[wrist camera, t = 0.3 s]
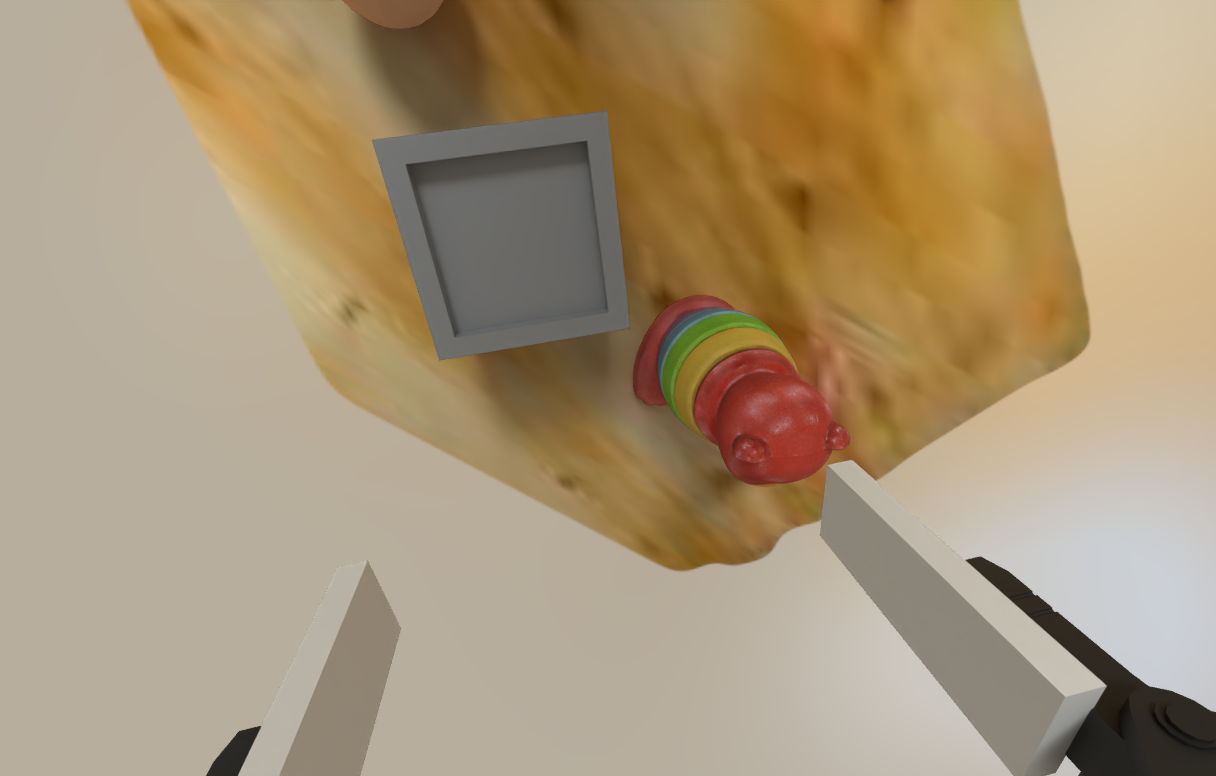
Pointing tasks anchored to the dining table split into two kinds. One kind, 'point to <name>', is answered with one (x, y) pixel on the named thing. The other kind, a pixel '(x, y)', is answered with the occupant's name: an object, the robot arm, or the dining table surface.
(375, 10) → the egg
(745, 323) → the stacking bear
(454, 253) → the grey square tray
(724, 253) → the dining table surface
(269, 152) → the dining table surface
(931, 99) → the dining table surface
